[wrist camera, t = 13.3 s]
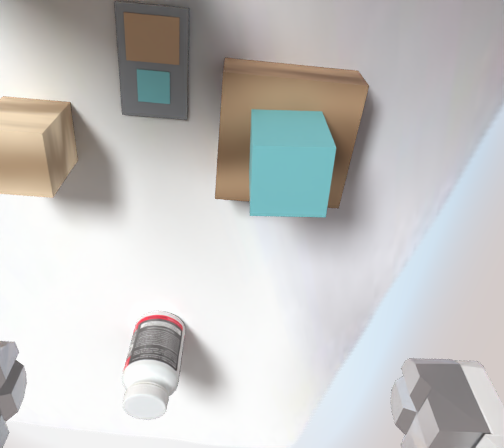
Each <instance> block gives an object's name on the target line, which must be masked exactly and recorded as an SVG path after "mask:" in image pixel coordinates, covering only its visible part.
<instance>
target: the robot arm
mask: <svg viewBox="0 0 504 448" xmlns="http://www.w3.org/2000/svg"><path fill="white" fill-rule="evenodd" d="M18 353H19V351H18V348H17V346H16V344H15V342H10V341H0V448H3V446H4V444H5V441H6V439H7V436H8V434H9V430H8V427H7V424H6V421H7V420H8V419H10V418H11V417H12V416H13V415H14V414H16V413H17V412H18V411H19V408H20V406H21V403H22V401H23V398H24V394H25V389H26V384H27V382H26V371H25V368H24V365H22V364H21V363H19V362H18V361H17V360H16V358H17V355H18ZM401 369H402V373H403V376H402V377H401V378H399V379H397V380H396V381H395V383H394V385H393V388H392V390H391V391H392V392H391V409H392V415H393V419H394V423H395V425H396V426H397V427H398V428H399V429H400V430H401V431H402V432H403V433H404V434H405V436H404V438H403V441H402V443H401V448H504V406H503V404H502V402H501V400H500V398H499V396H498V394H497V392H496V390H495V388H494V386H493V384H492V382H491V380H490V378H489V376H488V374H487V372H486V370H485V368H484V366H483V365H482V364H481V363H479V362H478V361H457V360H455V361H454V360H450V359H449V360H448V359H447V360H446V359H414V358H409V359H408V360H406V361H405V362H404V364H403V366H402V368H401Z"/></svg>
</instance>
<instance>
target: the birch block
mask: <svg viewBox="0 0 504 448" xmlns="http://www.w3.org/2000/svg"><path fill="white" fill-rule="evenodd" d="M77 161H78V158H77V150H76V142H75V135H74V127H73V119H72V112H71V104H70V102H62V101H50V100H39V99H28V98H17V97H6V96H3V97H2V98H1V99H0V194H11V195H24V196H37V197H50V198H53V197H54V196H55V194H56V193H57V191H58V190H59V188H60V187H61V185H62V184H63V182H64V181H65V179H66V178H67V176H68V175H69V173H70V172H71V170H72V169H73V167H74V166H75V164H76V163H77Z"/></svg>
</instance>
